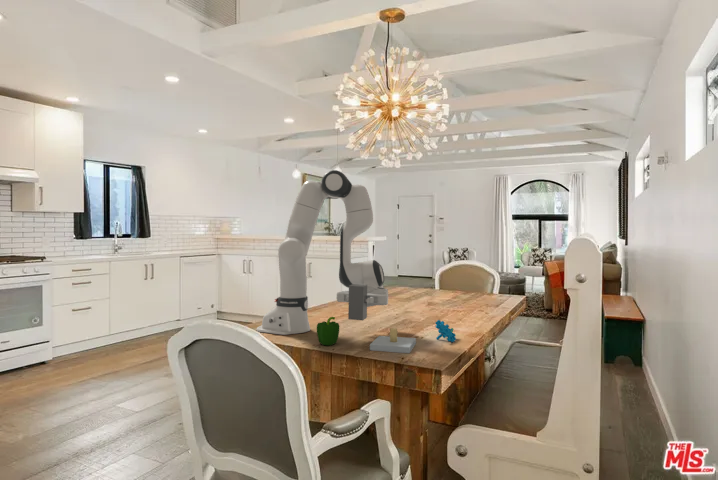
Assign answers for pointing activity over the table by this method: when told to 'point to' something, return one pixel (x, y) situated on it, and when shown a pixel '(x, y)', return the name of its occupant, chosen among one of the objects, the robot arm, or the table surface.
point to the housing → (357, 302)
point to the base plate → (393, 343)
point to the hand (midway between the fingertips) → (357, 300)
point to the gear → (445, 331)
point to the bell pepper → (328, 332)
